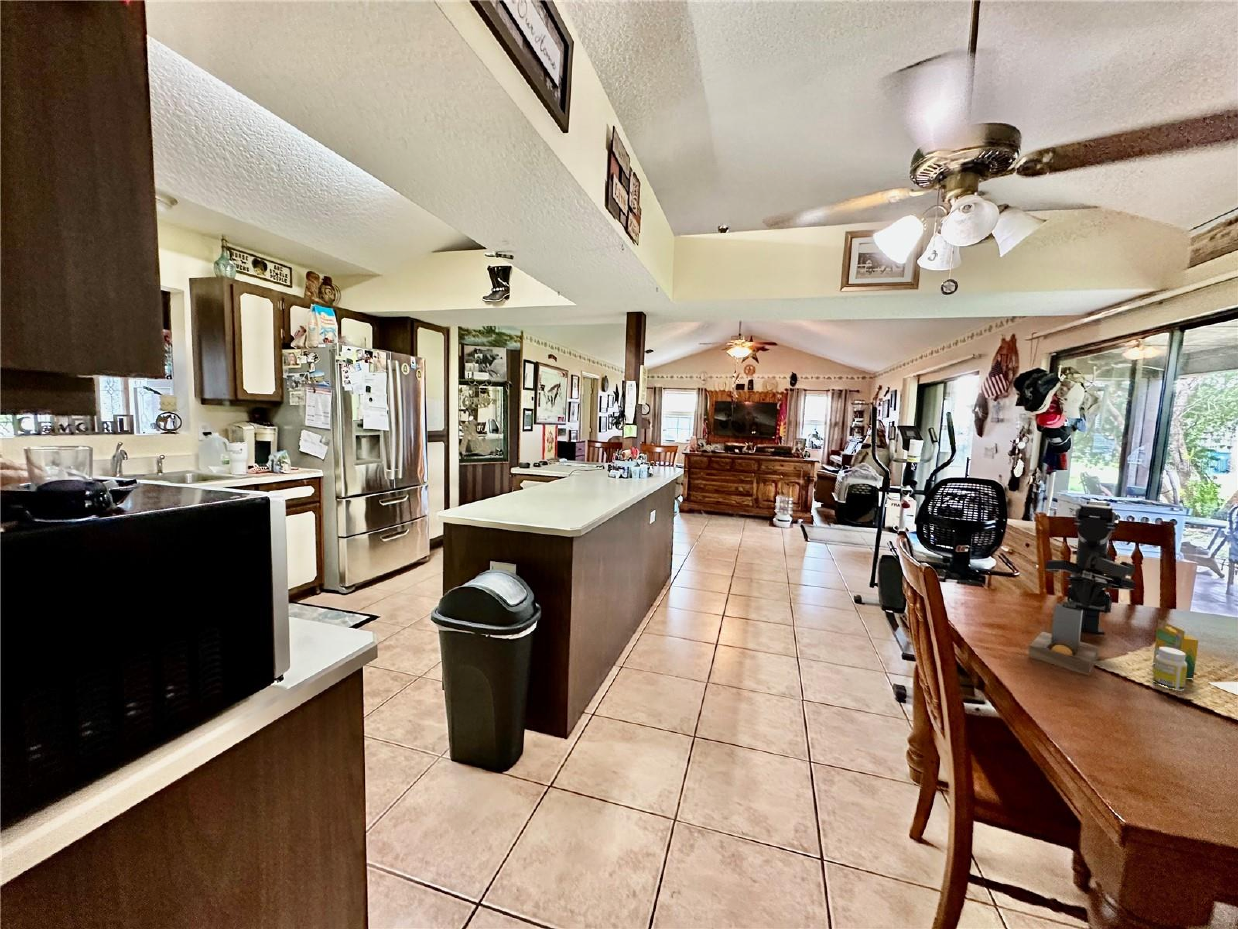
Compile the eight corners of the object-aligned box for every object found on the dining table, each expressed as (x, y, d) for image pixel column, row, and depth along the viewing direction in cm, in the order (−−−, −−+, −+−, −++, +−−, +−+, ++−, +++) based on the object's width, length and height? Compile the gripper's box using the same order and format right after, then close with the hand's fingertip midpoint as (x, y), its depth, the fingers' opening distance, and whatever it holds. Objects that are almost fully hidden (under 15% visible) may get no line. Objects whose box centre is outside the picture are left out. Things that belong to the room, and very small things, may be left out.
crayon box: (1194, 681, 111) (1200, 633, 110) (1178, 679, 111) (1184, 631, 110) (1167, 665, 118) (1172, 620, 117) (1152, 664, 118) (1157, 619, 117)
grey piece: (1052, 640, 124) (1056, 598, 123) (1079, 647, 120) (1083, 604, 119) (1050, 642, 122) (1054, 600, 121) (1077, 650, 118) (1081, 606, 117)
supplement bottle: (1174, 682, 110) (1178, 647, 109) (1190, 693, 105) (1195, 657, 105) (1147, 679, 111) (1151, 644, 111) (1162, 689, 107) (1166, 653, 106)
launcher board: (1041, 642, 130) (1042, 631, 129) (1098, 658, 121) (1099, 646, 121) (1028, 657, 121) (1029, 645, 121) (1088, 675, 112) (1089, 663, 112)
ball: (1048, 641, 121) (1045, 656, 121) (1064, 644, 117) (1062, 661, 117) (1061, 646, 122) (1058, 661, 121) (1078, 650, 118) (1075, 666, 117)
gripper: (1085, 538, 122) (1078, 598, 119) (1159, 559, 121) (1154, 620, 118) (1047, 540, 133) (1040, 595, 130) (1115, 559, 132) (1109, 615, 129)
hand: (1085, 606), depth 127 cm, fingers closed
